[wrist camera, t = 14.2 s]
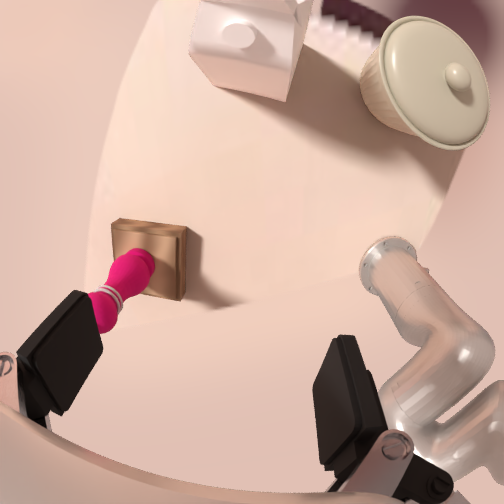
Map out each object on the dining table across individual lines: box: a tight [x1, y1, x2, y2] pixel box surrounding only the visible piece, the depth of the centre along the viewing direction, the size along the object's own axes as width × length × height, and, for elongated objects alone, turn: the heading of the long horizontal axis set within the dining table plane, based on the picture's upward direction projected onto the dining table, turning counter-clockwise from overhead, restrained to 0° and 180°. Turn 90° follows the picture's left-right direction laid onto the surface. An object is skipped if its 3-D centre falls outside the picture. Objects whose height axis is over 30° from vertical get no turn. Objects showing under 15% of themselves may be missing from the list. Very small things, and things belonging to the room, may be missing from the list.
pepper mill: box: [88, 248, 155, 334], centre depth 39 cm, size 7×7×20 cm
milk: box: [188, 0, 313, 102], centre depth 24 cm, size 12×12×26 cm
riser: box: [111, 218, 187, 301], centre depth 50 cm, size 14×14×4 cm
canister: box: [360, 16, 490, 150], centre depth 27 cm, size 18×18×21 cm
